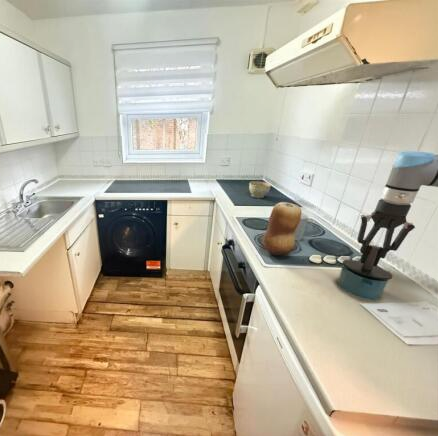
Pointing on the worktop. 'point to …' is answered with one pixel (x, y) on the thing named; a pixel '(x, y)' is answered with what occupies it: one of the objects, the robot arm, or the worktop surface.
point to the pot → (361, 284)
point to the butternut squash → (282, 228)
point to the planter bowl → (259, 189)
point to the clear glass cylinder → (301, 227)
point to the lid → (369, 265)
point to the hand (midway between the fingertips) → (368, 262)
